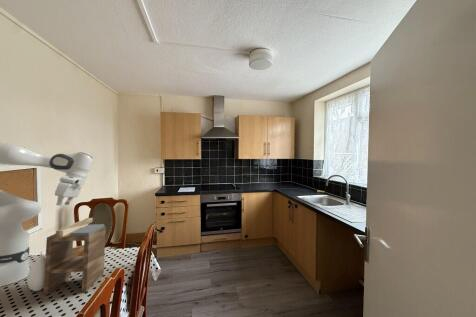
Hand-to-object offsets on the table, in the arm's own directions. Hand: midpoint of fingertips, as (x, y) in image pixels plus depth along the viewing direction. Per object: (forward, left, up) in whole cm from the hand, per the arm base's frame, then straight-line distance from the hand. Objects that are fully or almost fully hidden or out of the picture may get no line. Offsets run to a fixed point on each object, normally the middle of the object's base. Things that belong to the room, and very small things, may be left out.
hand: (62, 205), depth 101 cm
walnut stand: (+13, -8, -38) cm, 41 cm away
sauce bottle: (-1, -11, -38) cm, 40 cm away
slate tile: (+18, -8, -12) cm, 23 cm away
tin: (-3, +17, -38) cm, 42 cm away
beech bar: (+9, -3, -12) cm, 15 cm away
